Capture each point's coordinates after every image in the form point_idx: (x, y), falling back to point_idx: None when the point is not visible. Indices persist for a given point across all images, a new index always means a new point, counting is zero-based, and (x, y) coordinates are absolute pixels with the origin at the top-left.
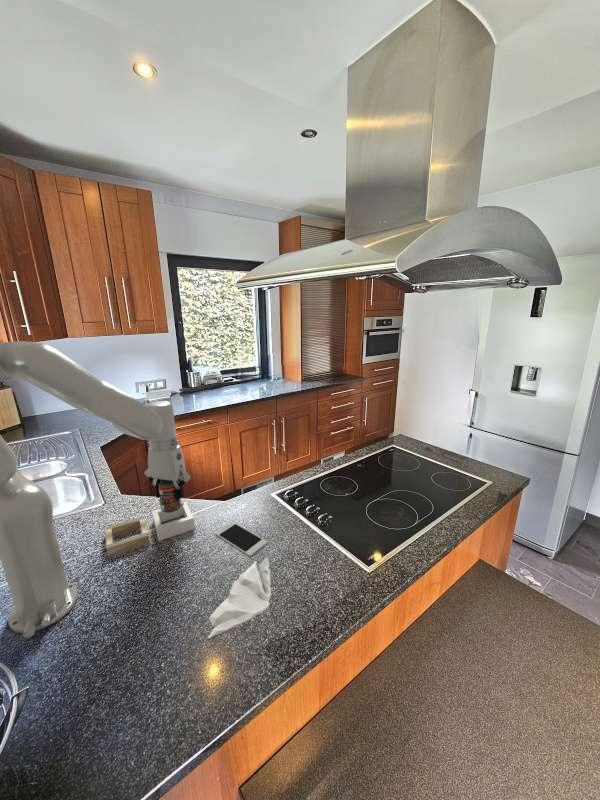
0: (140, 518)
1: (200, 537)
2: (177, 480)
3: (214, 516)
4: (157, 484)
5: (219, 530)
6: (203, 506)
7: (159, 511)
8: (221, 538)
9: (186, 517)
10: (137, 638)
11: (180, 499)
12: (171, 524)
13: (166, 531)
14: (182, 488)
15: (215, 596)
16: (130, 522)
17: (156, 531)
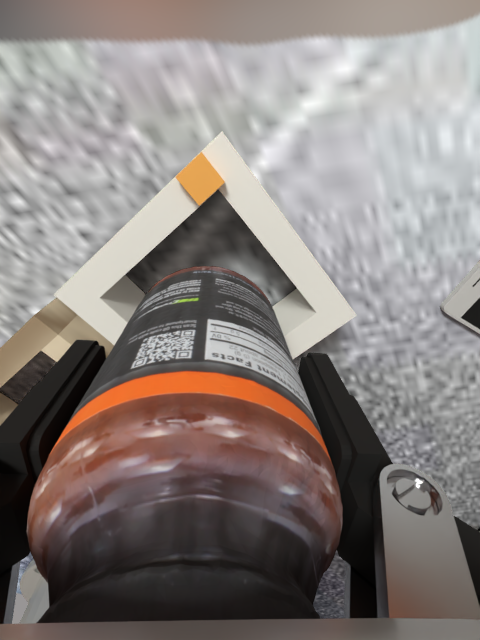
0: (32, 337)
1: (376, 334)
2: (321, 499)
3: (412, 163)
4: (25, 543)
5: (461, 288)
6: (309, 45)
7: (106, 290)
8: (470, 328)
9: (311, 318)
10: (330, 582)
11: (280, 327)
12: None
13: None
14: (384, 458)
15: (468, 507)
16: (10, 373)
17: None
